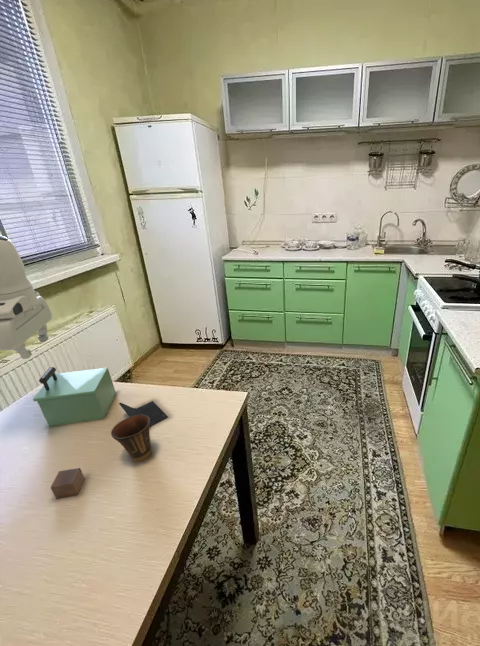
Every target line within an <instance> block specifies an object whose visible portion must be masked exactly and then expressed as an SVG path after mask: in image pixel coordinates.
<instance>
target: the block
mask: <svg viewBox="0 0 480 646" xmlns="http://www.w3.org/2000/svg"><path fill="white" fill-rule="evenodd" d="M85 479H86V477H85V475H84V474H83V471H82V469H81V467H76V468H70V469H64V470H59V471H58V472H57V475H56V476H55V478H54V480H53V481H52V483H51V485H50V489H51V491H52V494H53V495H54V497H55V499H62V498H67V497H72V496H78V495H79V493H80V491H81V488H82V487H83V484H84V481H85Z"/></svg>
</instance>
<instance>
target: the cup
mask: <svg viewBox="0 0 480 646" xmlns="http://www.w3.org/2000/svg"><path fill="white" fill-rule="evenodd" d="M150 428H151V427H150V418H149V417H148V416H146V415H136V416H131V417H129V416H128V417H126V418H124V419H123V420H121V421H120V422H118V423H117V424H115V426H114V427H113V428H112V429H111V431H110V435H111V437H112V439H114V440H115V441H117V443H119V444H120V445H121V446H122V447H123V449H124V450H125V451H126V452H127V454H128V456H129V457H130V459H131V460H132V461H134V462H136V463H140V462H143V461H145V460H147V459H149V457H151V455H152V454H153V449H152V444H151V438H150V436H151V435H150Z"/></svg>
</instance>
